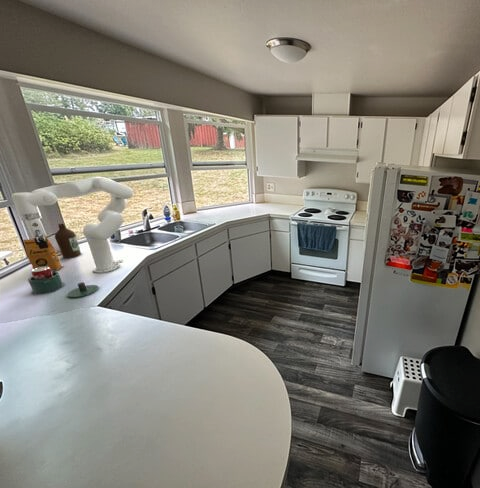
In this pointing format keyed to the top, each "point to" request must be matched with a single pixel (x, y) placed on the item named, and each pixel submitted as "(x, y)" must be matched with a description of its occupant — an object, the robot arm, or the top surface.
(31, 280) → the pot
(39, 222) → the robot arm
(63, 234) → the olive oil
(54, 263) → the coffee package
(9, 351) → the top surface
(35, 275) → the soda can
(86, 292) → the lid
